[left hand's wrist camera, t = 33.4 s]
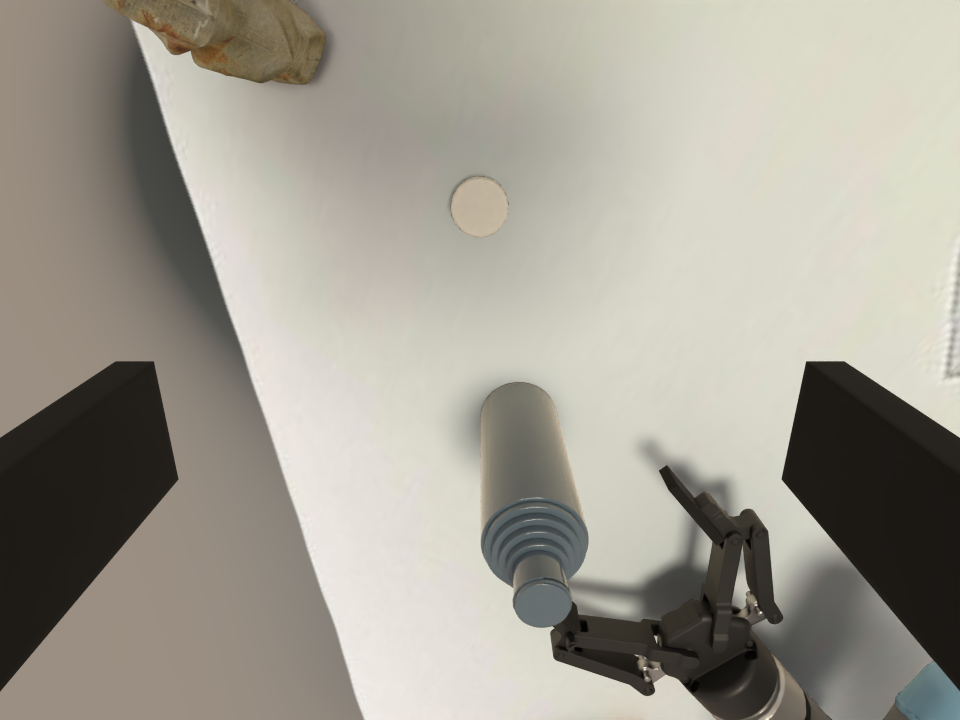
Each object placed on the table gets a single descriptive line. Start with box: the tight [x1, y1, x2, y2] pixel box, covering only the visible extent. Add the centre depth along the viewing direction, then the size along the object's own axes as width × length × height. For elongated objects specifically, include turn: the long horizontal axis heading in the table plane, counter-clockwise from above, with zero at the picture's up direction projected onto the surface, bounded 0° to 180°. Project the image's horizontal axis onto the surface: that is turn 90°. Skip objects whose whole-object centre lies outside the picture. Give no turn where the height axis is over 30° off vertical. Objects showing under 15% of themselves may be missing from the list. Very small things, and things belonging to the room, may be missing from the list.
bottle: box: [481, 383, 588, 628], centre depth 41 cm, size 6×6×21 cm
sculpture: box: [103, 0, 326, 85], centre depth 34 cm, size 6×7×15 cm
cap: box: [451, 176, 509, 237], centre depth 44 cm, size 4×4×2 cm
